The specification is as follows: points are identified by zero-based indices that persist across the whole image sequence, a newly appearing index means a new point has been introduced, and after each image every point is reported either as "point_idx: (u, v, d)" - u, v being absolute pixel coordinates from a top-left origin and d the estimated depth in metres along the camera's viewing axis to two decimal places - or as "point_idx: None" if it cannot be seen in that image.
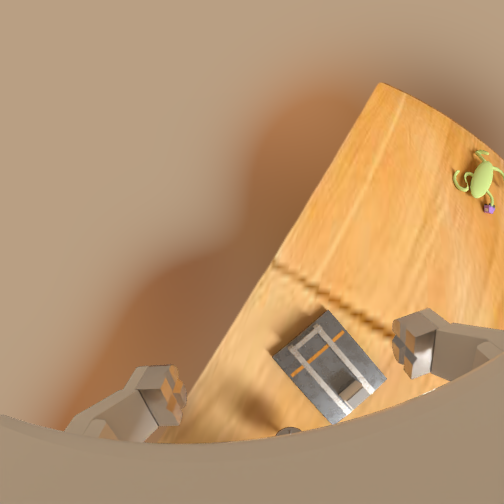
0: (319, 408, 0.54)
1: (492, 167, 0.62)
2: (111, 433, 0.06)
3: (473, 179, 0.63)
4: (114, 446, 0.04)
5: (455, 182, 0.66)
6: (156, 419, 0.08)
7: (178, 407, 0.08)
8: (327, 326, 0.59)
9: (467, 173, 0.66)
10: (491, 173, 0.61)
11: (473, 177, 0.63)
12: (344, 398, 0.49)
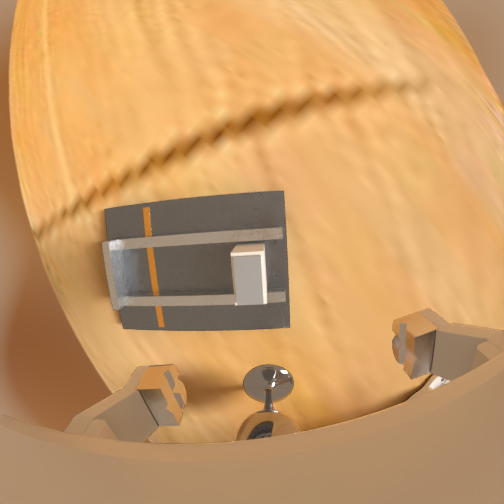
0: (242, 327, 0.33)
1: None
2: (111, 433, 0.06)
3: None
4: (114, 446, 0.04)
5: None
6: (156, 419, 0.08)
7: (178, 408, 0.08)
8: (124, 226, 0.32)
9: None
10: None
11: None
12: None
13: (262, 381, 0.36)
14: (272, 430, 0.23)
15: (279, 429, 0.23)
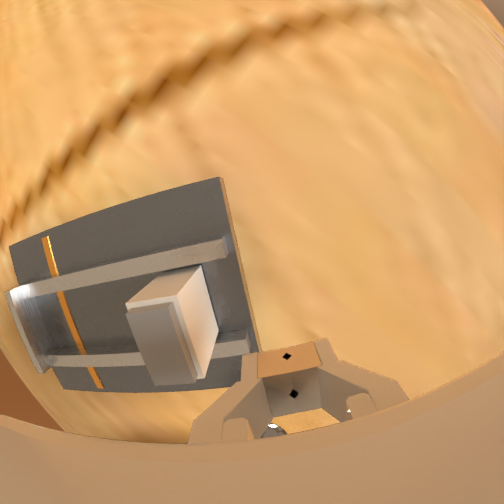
0: (197, 386, 0.21)
1: None
2: (251, 432, 0.06)
3: None
4: (114, 446, 0.04)
5: None
6: (274, 409, 0.08)
7: (294, 394, 0.08)
8: (29, 265, 0.20)
9: None
10: None
11: None
12: None
13: None
14: None
15: None
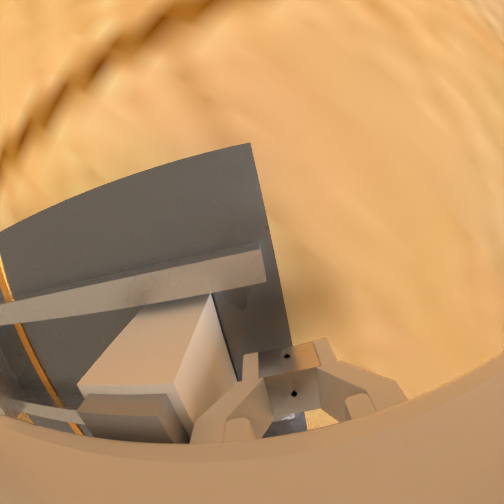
0: None
1: None
2: (253, 432, 0.06)
3: None
4: (114, 446, 0.04)
5: None
6: (275, 409, 0.08)
7: None
8: None
9: None
10: None
11: None
12: None
13: None
14: None
15: None
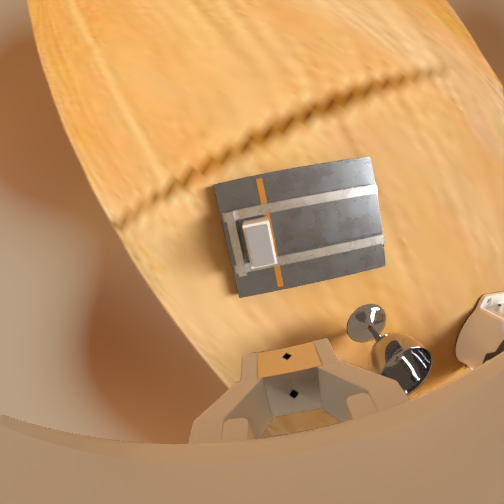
0: (350, 272, 0.39)
1: None
2: (251, 432, 0.06)
3: None
4: (114, 446, 0.04)
5: None
6: (273, 409, 0.08)
7: (294, 393, 0.08)
8: (237, 198, 0.37)
9: None
10: None
11: None
12: None
13: (363, 321, 0.42)
14: (405, 341, 0.29)
15: (410, 340, 0.29)
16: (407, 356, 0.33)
